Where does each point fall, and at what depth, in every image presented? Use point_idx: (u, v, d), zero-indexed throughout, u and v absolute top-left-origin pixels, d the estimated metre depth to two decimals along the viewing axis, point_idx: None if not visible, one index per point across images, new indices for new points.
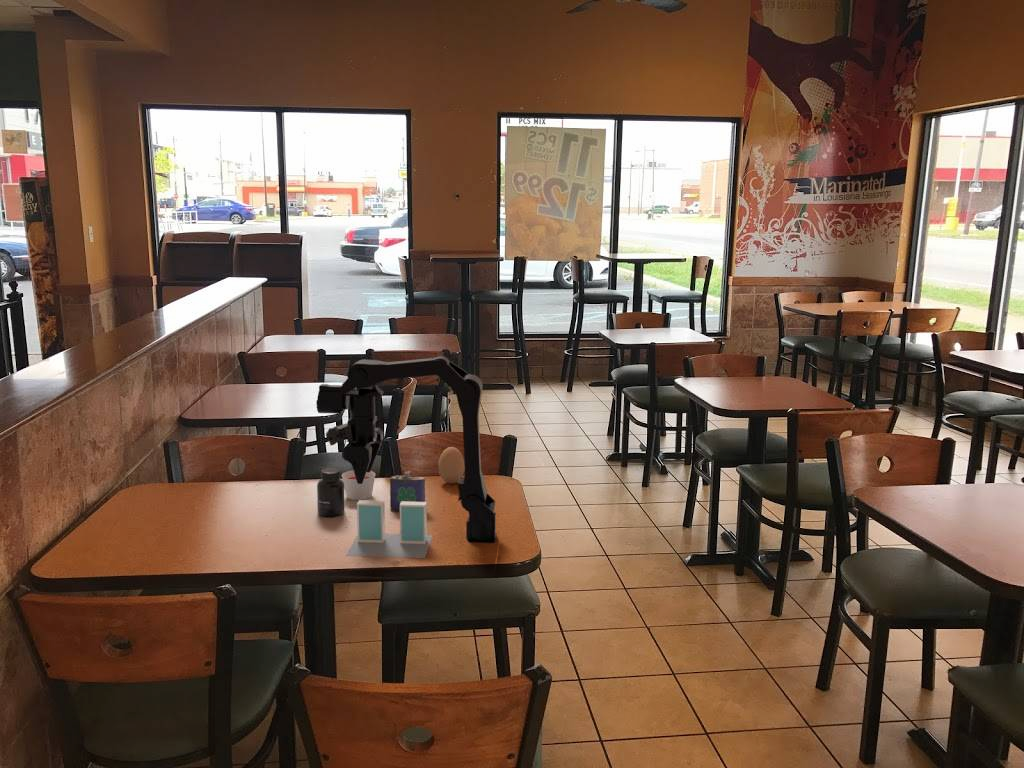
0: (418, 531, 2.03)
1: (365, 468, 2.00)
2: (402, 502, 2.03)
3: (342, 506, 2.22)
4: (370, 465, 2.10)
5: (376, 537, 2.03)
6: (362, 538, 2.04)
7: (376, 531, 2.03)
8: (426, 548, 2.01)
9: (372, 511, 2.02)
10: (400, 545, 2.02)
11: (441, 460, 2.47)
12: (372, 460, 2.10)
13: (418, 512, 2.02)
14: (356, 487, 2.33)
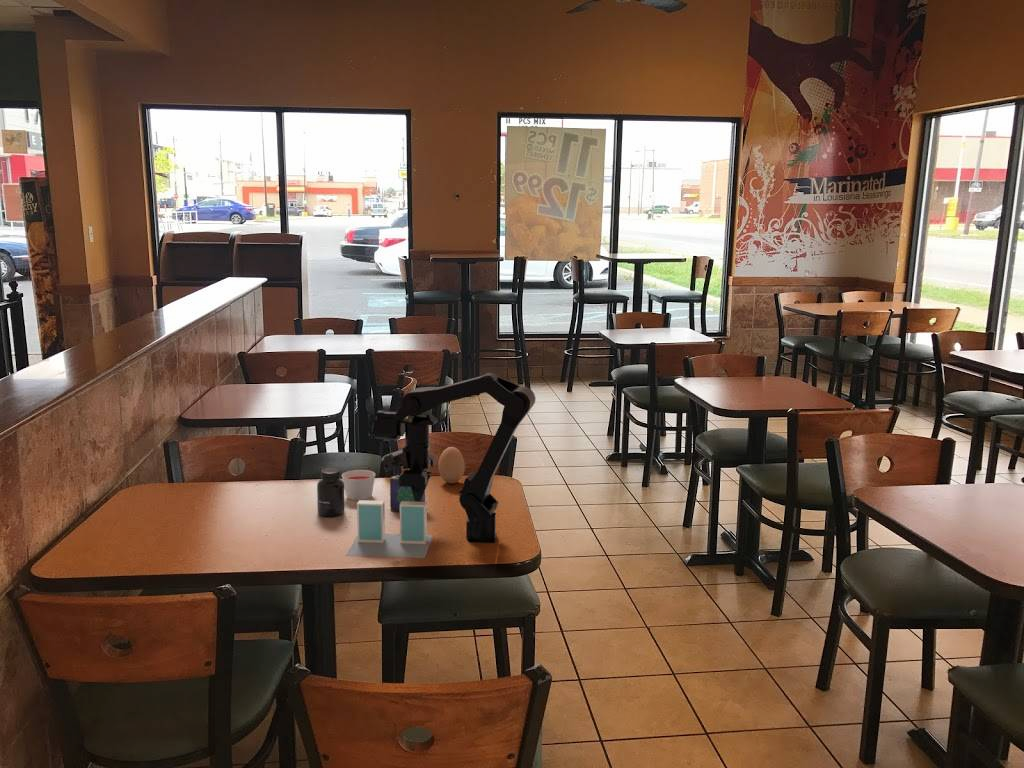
0: (418, 531, 2.03)
1: (423, 489, 2.08)
2: (402, 502, 2.03)
3: (342, 506, 2.22)
4: None
5: (376, 537, 2.03)
6: (362, 538, 2.04)
7: (376, 531, 2.03)
8: (426, 548, 2.01)
9: (372, 511, 2.02)
10: (400, 545, 2.02)
11: (441, 460, 2.47)
12: None
13: (418, 512, 2.02)
14: (356, 487, 2.33)
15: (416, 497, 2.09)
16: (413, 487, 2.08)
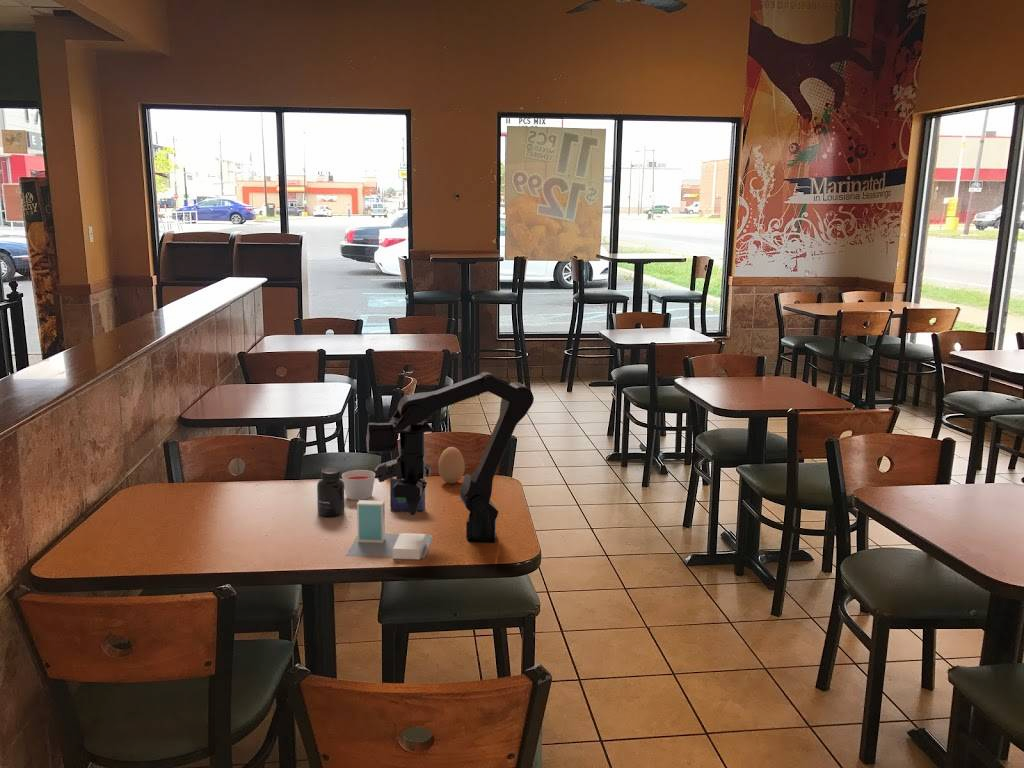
0: None
1: (418, 500, 2.00)
2: (394, 552, 1.94)
3: (342, 506, 2.22)
4: None
5: (376, 537, 2.03)
6: (362, 538, 2.04)
7: (376, 531, 2.03)
8: (426, 548, 2.01)
9: (372, 511, 2.02)
10: None
11: (441, 460, 2.47)
12: None
13: None
14: (356, 487, 2.33)
15: (411, 508, 2.01)
16: (408, 498, 2.00)
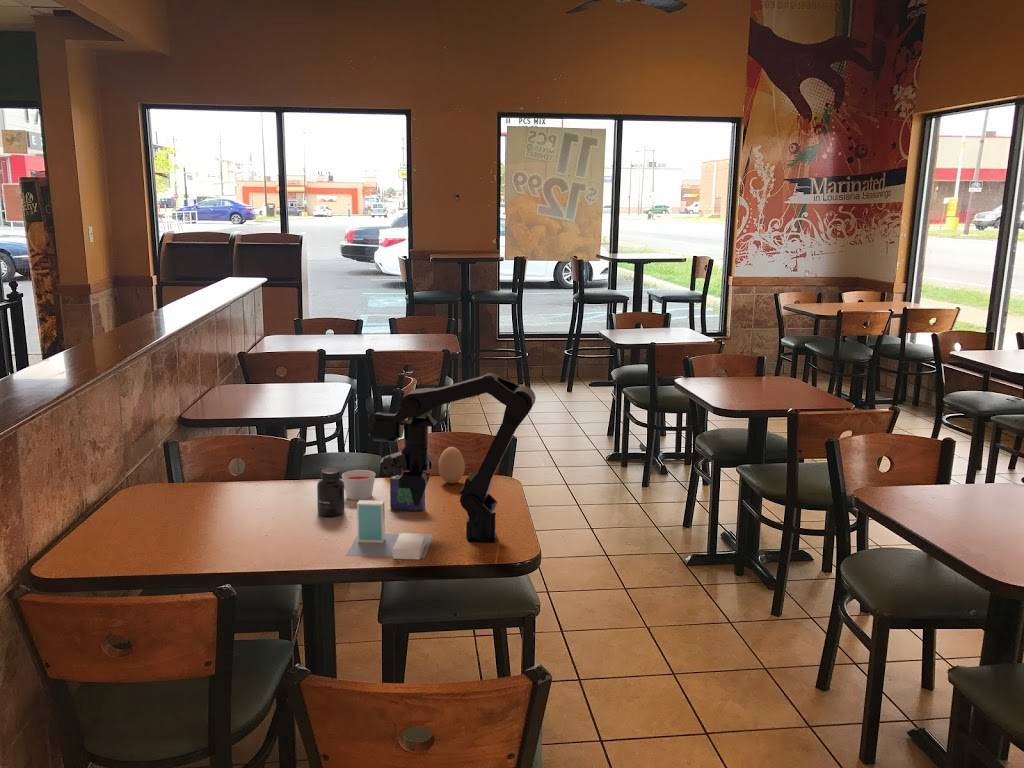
0: None
1: (422, 491, 2.07)
2: (394, 552, 1.94)
3: (342, 506, 2.22)
4: None
5: (376, 537, 2.03)
6: (362, 538, 2.04)
7: (376, 531, 2.03)
8: (426, 548, 2.01)
9: (372, 511, 2.02)
10: None
11: (441, 460, 2.47)
12: None
13: None
14: (356, 487, 2.33)
15: (415, 499, 2.08)
16: (412, 489, 2.07)
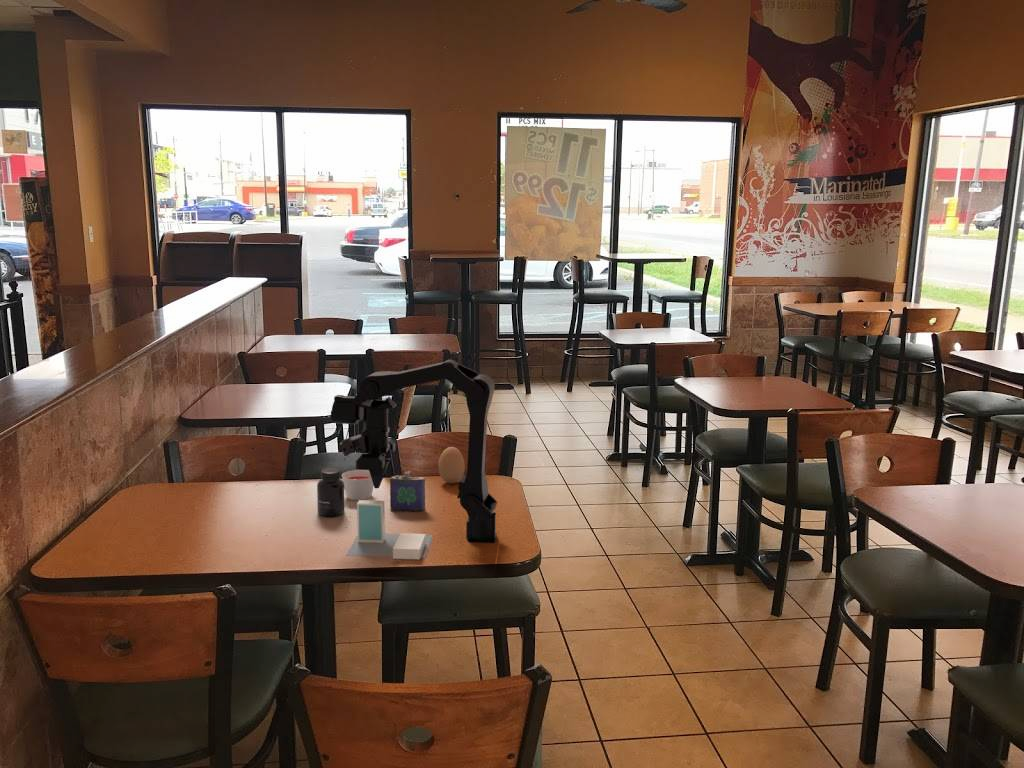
0: None
1: (382, 473, 2.07)
2: (394, 552, 1.94)
3: (342, 506, 2.22)
4: None
5: (376, 537, 2.03)
6: (362, 538, 2.04)
7: (376, 531, 2.03)
8: (426, 548, 2.01)
9: (372, 511, 2.02)
10: None
11: (441, 460, 2.47)
12: None
13: None
14: (356, 487, 2.33)
15: (375, 481, 2.09)
16: (372, 471, 2.07)
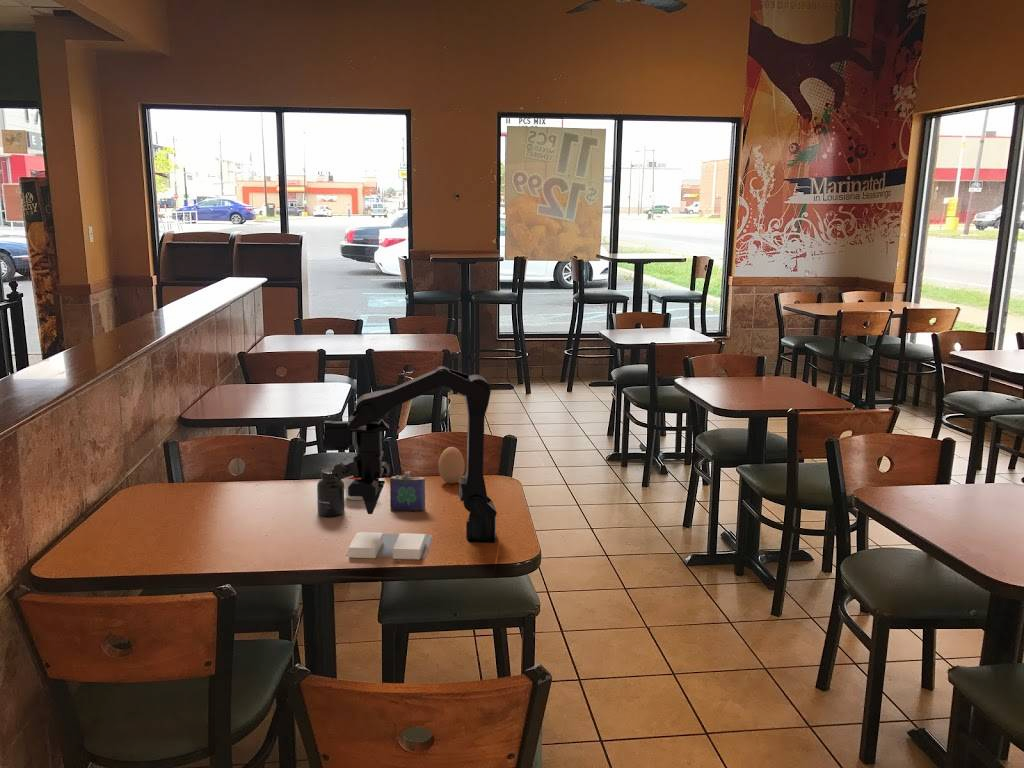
0: None
1: (375, 499, 2.00)
2: (394, 552, 1.94)
3: (342, 506, 2.22)
4: None
5: None
6: None
7: None
8: (426, 548, 2.01)
9: None
10: None
11: (441, 460, 2.47)
12: None
13: None
14: None
15: (368, 507, 2.02)
16: (365, 497, 2.00)
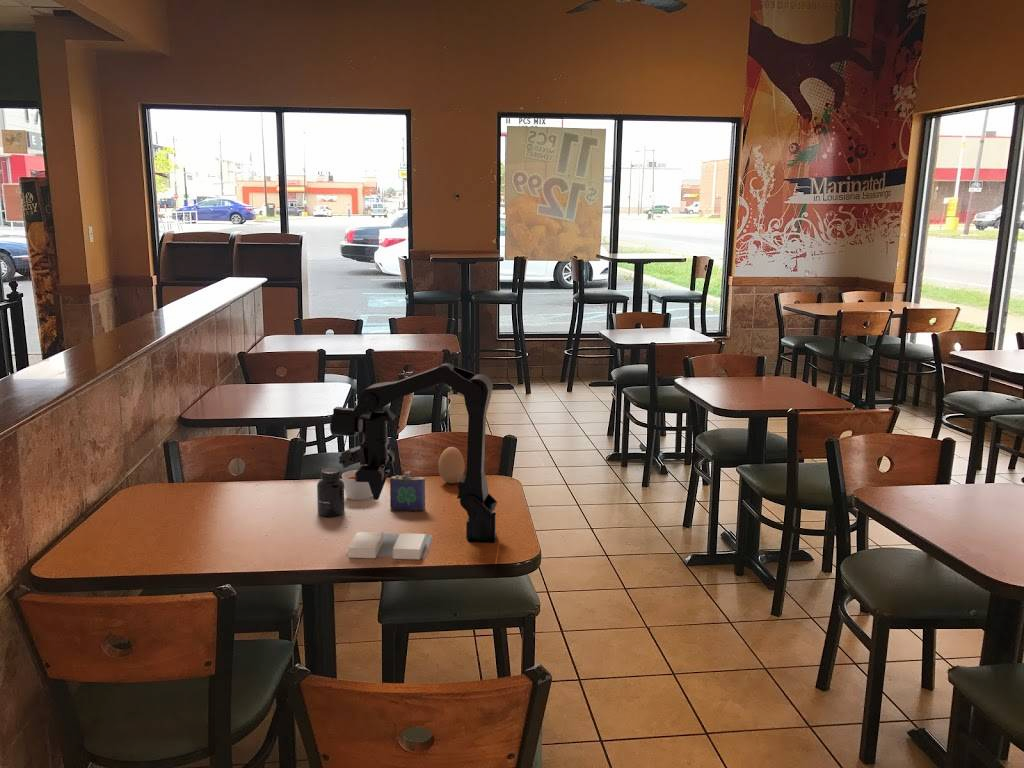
0: None
1: (381, 485, 2.08)
2: (394, 552, 1.94)
3: (342, 506, 2.22)
4: None
5: None
6: None
7: None
8: (426, 548, 2.01)
9: None
10: None
11: (441, 460, 2.47)
12: None
13: None
14: (356, 487, 2.33)
15: (374, 493, 2.09)
16: (371, 483, 2.08)
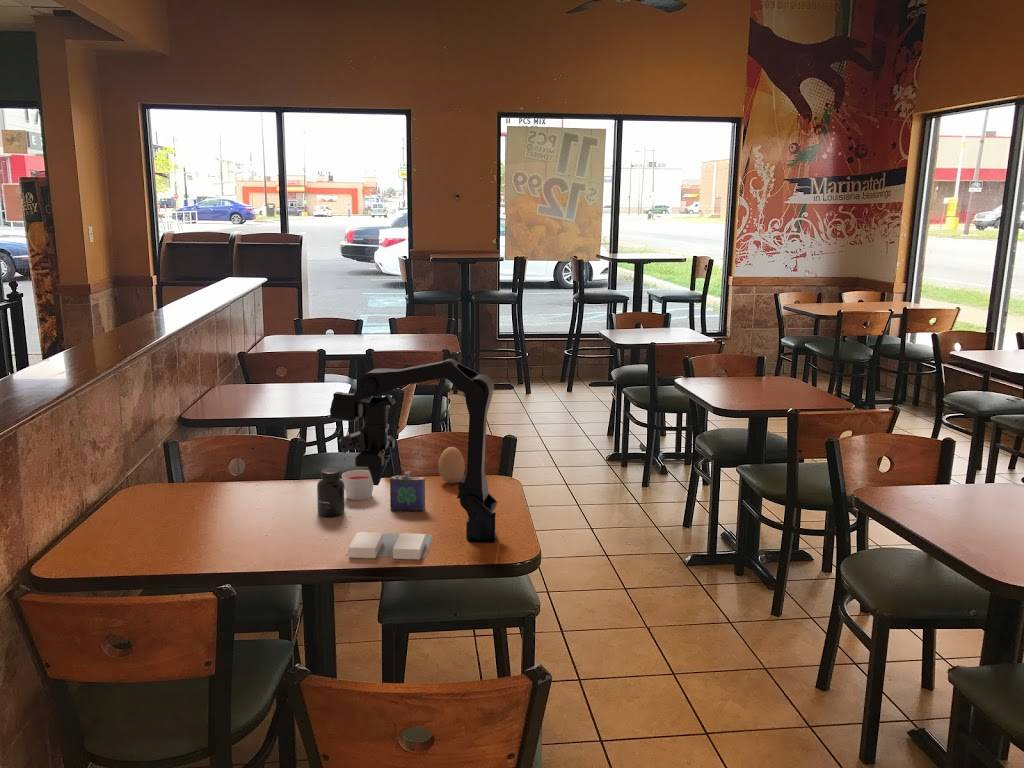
0: None
1: (381, 470, 2.07)
2: (394, 552, 1.94)
3: (342, 506, 2.22)
4: None
5: None
6: None
7: None
8: (426, 548, 2.01)
9: None
10: None
11: (441, 460, 2.47)
12: None
13: None
14: (356, 487, 2.33)
15: (374, 478, 2.08)
16: (371, 468, 2.07)
